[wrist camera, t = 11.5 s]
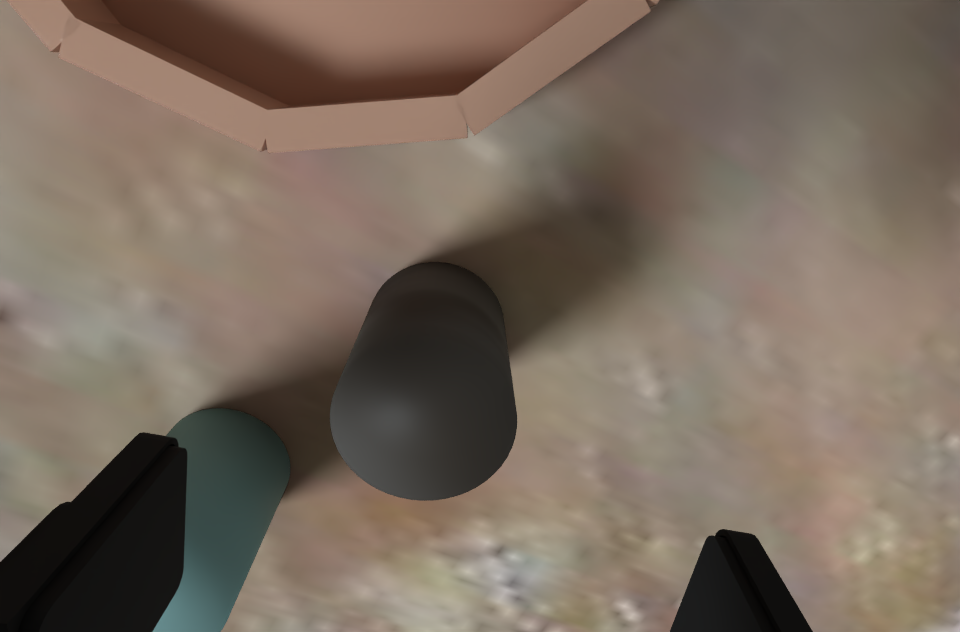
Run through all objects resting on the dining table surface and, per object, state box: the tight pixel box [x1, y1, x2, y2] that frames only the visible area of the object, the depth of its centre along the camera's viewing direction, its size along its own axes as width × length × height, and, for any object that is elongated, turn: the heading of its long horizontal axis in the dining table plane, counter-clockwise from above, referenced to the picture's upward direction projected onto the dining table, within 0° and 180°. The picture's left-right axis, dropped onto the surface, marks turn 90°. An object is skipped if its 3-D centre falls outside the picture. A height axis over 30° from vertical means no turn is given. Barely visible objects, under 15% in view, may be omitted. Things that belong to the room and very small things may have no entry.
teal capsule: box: [153, 408, 290, 632], centre depth 19 cm, size 4×4×6 cm
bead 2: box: [330, 262, 517, 500], centre depth 18 cm, size 4×4×6 cm
